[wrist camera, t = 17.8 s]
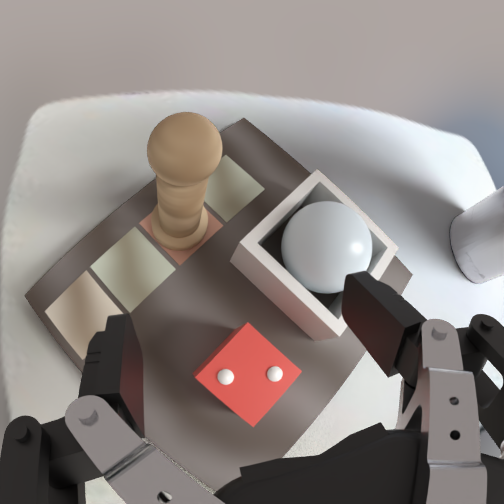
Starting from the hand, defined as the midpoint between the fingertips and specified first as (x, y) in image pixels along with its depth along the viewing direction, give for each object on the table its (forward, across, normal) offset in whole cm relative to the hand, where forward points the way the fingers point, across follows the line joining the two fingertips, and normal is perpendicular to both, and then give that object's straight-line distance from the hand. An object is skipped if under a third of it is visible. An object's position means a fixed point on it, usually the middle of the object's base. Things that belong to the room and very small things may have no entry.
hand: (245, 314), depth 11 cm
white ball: (+11, +8, -5) cm, 14 cm away
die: (+6, 0, -10) cm, 12 cm away
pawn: (+14, -2, -1) cm, 14 cm away
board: (+11, +2, -7) cm, 13 cm away
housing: (+11, +8, -5) cm, 15 cm away
